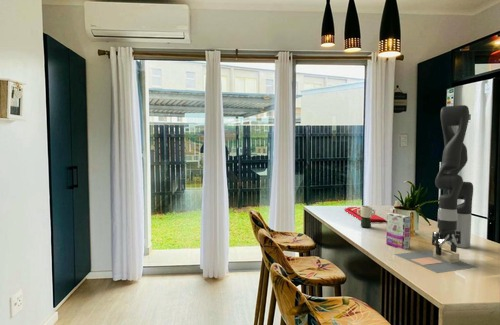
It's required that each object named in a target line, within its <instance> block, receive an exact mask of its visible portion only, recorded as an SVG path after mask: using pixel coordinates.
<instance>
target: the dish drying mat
mask: <svg viewBox="0 0 500 325" xmlns="http://www.w3.org/2000/svg"><path fill="white" fill-rule="evenodd" d="M360 207H361V206H349V207H346V208H343V210H344V212H345V213H347V212H348V213H347V214H348V215H350V214H351V215H350V216H352V215H353V216H352V217H354V218H355V217H356V219H357V218H358V219H357V220H359V221H360V220H362V217H361V216H360V214H357V209H360ZM359 213H360V211H359ZM370 221H371V222H387V219H385V218H384V217H381V216H380V215H377V214H375V215H372V217H370Z"/></svg>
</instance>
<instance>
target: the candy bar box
mask: <svg viewBox="0 0 500 325" xmlns="http://www.w3.org/2000/svg"><path fill="white" fill-rule="evenodd" d="M386 215H387V216H386V221H387V223H386V245H388V246H391V247H393V248H398V249H402V250H406V249H410V248H411V227H412V226H411V223H412V220H411V219H412V216H409V215H404V214H400V213H395V212H389V213H388V212H387V213H386Z"/></svg>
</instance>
